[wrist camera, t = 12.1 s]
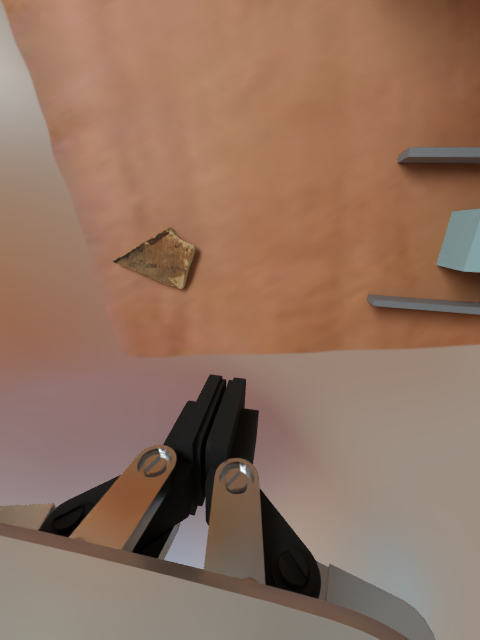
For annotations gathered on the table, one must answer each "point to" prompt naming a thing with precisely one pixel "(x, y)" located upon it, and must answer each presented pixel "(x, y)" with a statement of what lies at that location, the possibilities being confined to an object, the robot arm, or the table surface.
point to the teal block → (462, 242)
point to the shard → (161, 259)
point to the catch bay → (432, 157)
